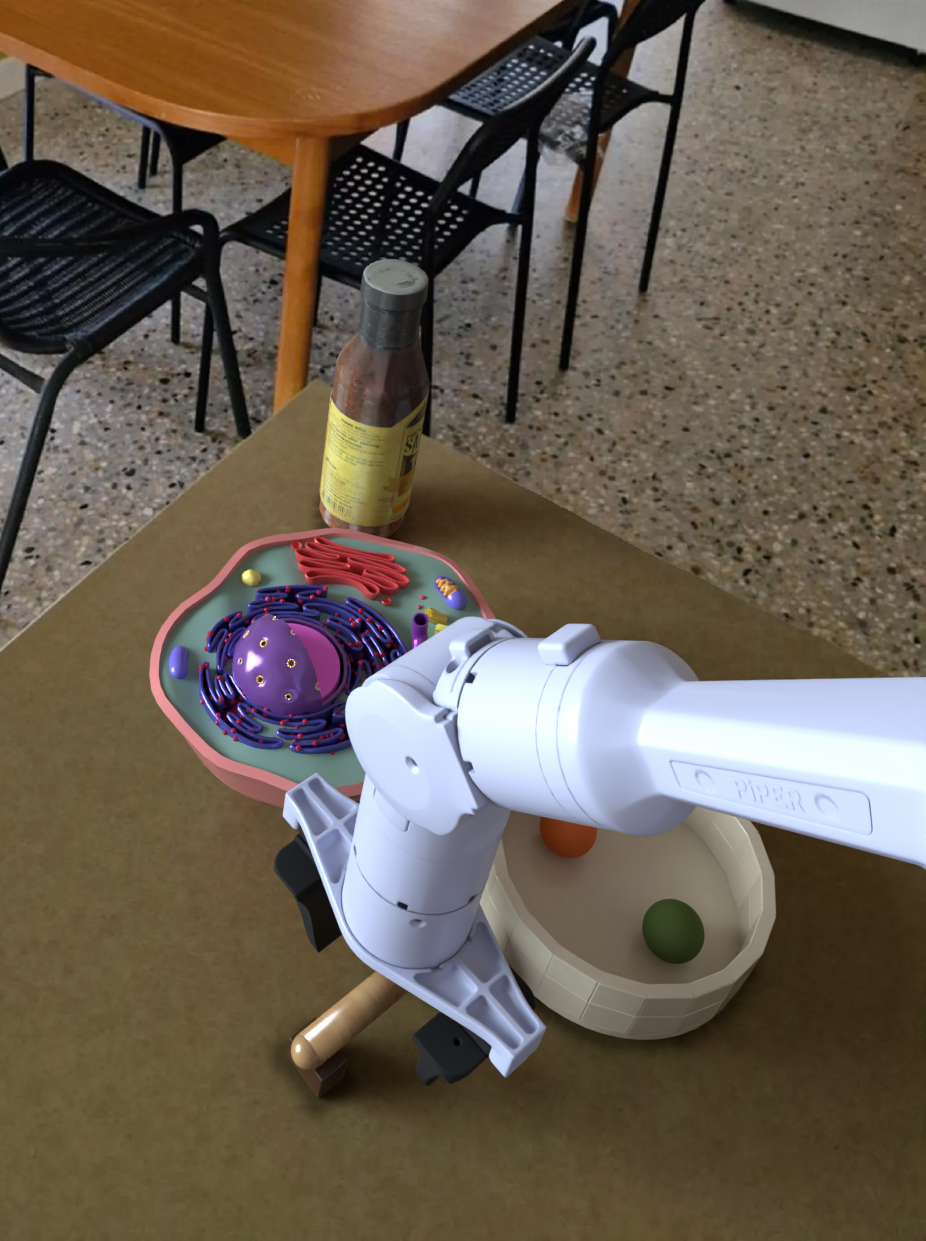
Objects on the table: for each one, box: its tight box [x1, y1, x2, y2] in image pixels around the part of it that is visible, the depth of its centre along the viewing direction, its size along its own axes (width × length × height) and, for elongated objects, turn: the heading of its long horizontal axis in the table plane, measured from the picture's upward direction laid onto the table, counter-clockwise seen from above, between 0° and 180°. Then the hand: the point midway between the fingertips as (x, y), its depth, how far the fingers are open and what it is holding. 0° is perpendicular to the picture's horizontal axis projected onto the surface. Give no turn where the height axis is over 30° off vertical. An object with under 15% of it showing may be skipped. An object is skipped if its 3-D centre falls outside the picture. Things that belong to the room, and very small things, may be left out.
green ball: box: [642, 899, 705, 964], centre depth 63 cm, size 3×3×3 cm
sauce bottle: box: [319, 258, 431, 539], centre depth 81 cm, size 7×6×20 cm
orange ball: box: [540, 816, 597, 858], centre depth 67 cm, size 3×3×3 cm
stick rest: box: [285, 1017, 349, 1099], centre depth 60 cm, size 10×2×2 cm, turn 128°
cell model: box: [148, 527, 497, 810], centre depth 70 cm, size 17×20×11 cm
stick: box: [291, 970, 410, 1071], centre depth 59 cm, size 11×2×2 cm, turn 128°
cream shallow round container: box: [480, 806, 777, 1041], centre depth 65 cm, size 14×14×4 cm
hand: (381, 999), depth 60 cm, fingers open, 7 cm apart
